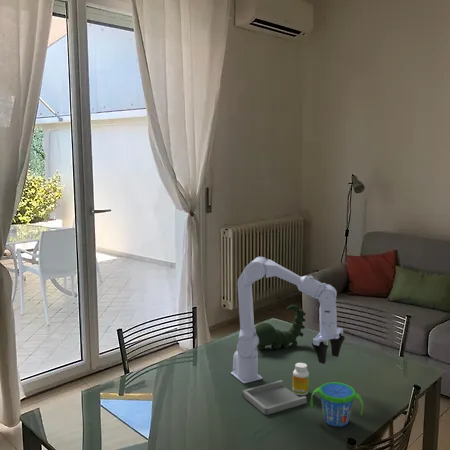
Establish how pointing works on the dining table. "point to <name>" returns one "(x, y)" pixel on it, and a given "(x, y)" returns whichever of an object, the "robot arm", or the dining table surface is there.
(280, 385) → the tray
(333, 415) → the snack cup
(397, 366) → the dining table surface
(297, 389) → the supplement bottle
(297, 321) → the toy figurine
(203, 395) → the dining table surface
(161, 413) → the dining table surface
